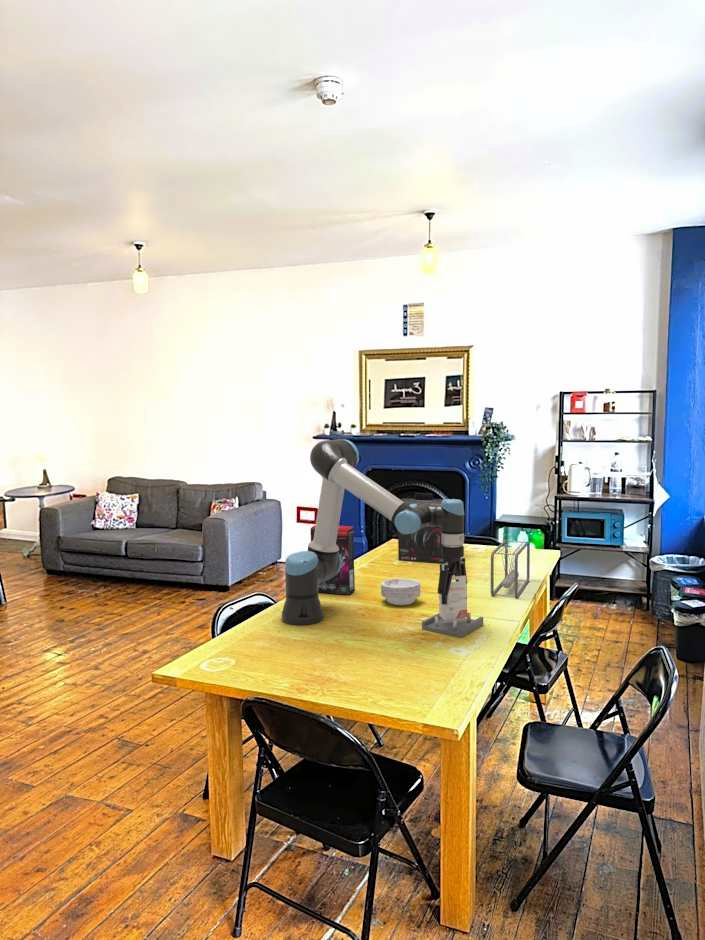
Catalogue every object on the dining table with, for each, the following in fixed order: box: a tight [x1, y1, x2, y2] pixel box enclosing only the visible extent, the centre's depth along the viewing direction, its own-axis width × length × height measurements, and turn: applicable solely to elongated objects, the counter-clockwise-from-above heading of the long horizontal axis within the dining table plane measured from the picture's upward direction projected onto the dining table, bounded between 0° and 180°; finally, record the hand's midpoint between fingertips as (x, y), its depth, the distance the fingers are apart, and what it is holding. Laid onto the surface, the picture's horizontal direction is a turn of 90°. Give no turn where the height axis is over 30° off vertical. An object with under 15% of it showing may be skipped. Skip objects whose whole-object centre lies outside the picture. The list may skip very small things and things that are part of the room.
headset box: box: [397, 492, 445, 564], centre depth 339 cm, size 25×12×33 cm, turn 68°
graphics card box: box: [309, 524, 356, 596], centre depth 283 cm, size 17×7×27 cm, turn 71°
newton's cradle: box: [490, 539, 531, 599], centre depth 285 cm, size 30×10×18 cm, turn 157°
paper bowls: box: [380, 578, 421, 606], centre depth 268 cm, size 15×15×8 cm
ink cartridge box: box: [438, 575, 468, 620], centre depth 237 cm, size 9×5×15 cm, turn 105°
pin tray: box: [421, 612, 484, 639], centre depth 238 cm, size 16×15×4 cm
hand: (452, 609), depth 238 cm, fingers closed on ink cartridge box, 9 cm apart
